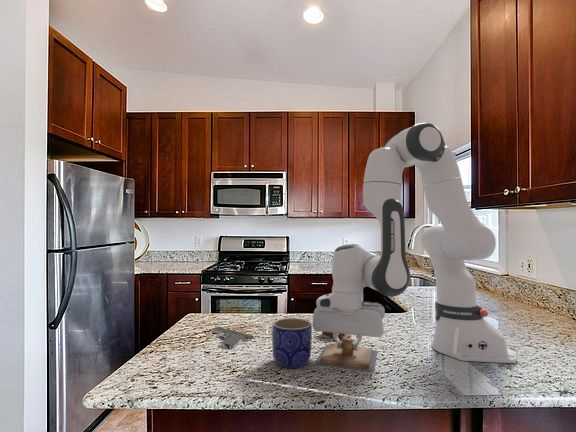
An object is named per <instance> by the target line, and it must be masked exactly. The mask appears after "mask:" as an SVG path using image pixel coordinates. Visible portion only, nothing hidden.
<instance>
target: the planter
mask: <svg viewBox="0 0 576 432" xmlns="http://www.w3.org/2000/svg"><path fill="white" fill-rule="evenodd" d="M271 327H272V329H271V330H272V331H271V347H272V348H271V349H272V355H273V356H272V357H273V359H274V361H275V363H276V364H277V365H278V366H280V367H281V368H284V369H291V370H293V369H300V368H303V367H304V366H306V365H307V364H308V362H309V360H310V358H311V353H312V344H313V342H312V340H313V339H312V337H313V336H312V334H313V333H312V329H313V325H312V323H311V321H309V320H307V319H304V318H297V317H296V318H295V317H289V318H288V317H287V318H280V319H277V320H274V321H273V322H272V325H271Z"/></svg>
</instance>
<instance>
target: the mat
mask: <svg viewBox="0 0 576 432" xmlns="http://www.w3.org/2000/svg"><path fill="white" fill-rule="evenodd" d="M328 346H329V344H325V345H324V347H323V349H322V350H321V352H320V353H319V355H318V356H317V358H316V360H315V361H314V363H313V364H314V365H316V366H323V367H324V366H325V367H332V368H339V369H345V370H346V369H347V370H355V371H361V372H367V373H368V372H370V373H375V369H376V364H377V359H378V358H377V357H378V352H379V351H378V350H374V349H372V356H371V361H370V366H369V369H364V368H357V367H349V366H342V365H334V364H327V363H320V359H321V357H322V356H323V354H324V352H325V351H326V349H327V347H328Z"/></svg>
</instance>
